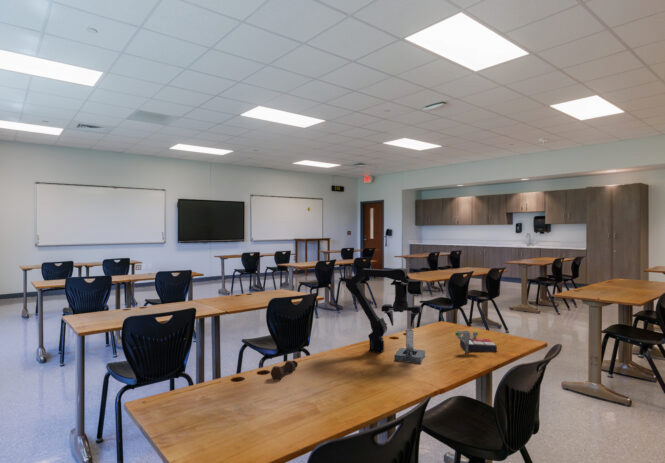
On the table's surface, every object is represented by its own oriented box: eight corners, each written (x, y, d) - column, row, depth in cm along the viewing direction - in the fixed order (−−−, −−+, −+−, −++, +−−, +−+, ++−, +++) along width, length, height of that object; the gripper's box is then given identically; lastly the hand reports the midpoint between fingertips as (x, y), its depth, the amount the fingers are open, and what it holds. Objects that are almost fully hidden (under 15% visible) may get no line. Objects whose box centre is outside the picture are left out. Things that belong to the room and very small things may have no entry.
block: (394, 360, 181) (394, 355, 181) (400, 352, 192) (400, 347, 192) (420, 363, 176) (420, 357, 176) (425, 355, 187) (425, 350, 187)
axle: (405, 358, 183) (405, 330, 183) (407, 356, 186) (406, 329, 186) (413, 359, 182) (412, 331, 182) (414, 357, 185) (413, 329, 185)
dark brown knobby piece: (296, 372, 172) (277, 383, 159) (288, 365, 174) (268, 375, 161) (302, 361, 171) (283, 371, 157) (293, 354, 173) (274, 364, 159)
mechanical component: (478, 353, 190) (478, 332, 190) (457, 353, 190) (456, 332, 190) (476, 351, 193) (475, 330, 193) (455, 351, 193) (454, 331, 193)
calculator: (497, 344, 192) (465, 343, 193) (496, 353, 192) (465, 351, 193) (489, 338, 203) (460, 337, 204) (489, 347, 203) (459, 345, 204)
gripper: (377, 296, 188) (378, 328, 188) (417, 297, 181) (418, 331, 181) (383, 292, 198) (384, 323, 198) (421, 293, 191) (422, 326, 191)
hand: (401, 326), depth 192 cm, fingers open, 9 cm apart
